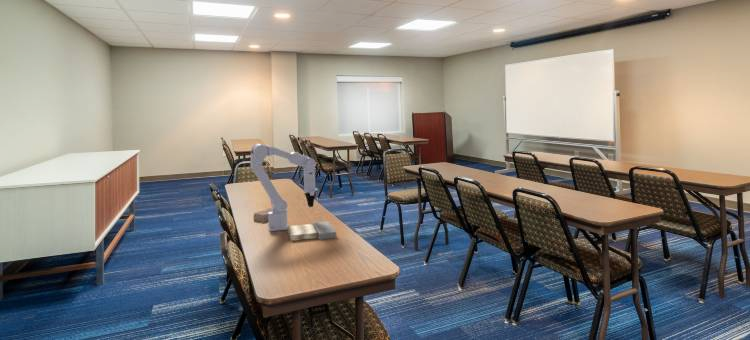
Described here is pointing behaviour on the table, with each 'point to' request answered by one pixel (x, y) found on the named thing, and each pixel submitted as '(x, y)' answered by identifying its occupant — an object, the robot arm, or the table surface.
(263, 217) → the brick
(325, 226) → the board
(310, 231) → the cream flat slab
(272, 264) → the table surface
